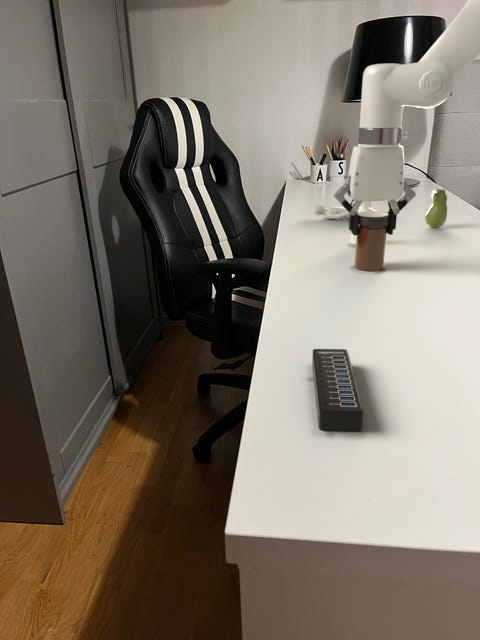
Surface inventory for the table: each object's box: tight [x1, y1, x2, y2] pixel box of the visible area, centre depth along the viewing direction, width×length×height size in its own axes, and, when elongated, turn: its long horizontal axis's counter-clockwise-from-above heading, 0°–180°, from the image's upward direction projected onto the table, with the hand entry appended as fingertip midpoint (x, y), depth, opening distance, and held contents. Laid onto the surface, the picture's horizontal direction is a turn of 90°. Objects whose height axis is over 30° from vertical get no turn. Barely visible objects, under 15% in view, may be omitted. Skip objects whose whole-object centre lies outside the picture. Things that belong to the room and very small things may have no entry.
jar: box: [353, 225, 388, 272], centre depth 101 cm, size 6×6×10 cm
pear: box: [424, 188, 448, 228], centre depth 133 cm, size 6×5×10 cm
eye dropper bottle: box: [350, 201, 376, 246], centre depth 118 cm, size 4×6×12 cm
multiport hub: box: [311, 348, 364, 433], centre depth 57 cm, size 4×14×2 cm, turn 175°
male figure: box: [313, 205, 360, 220], centre depth 145 cm, size 10×4×22 cm
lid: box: [357, 210, 389, 227], centre depth 99 cm, size 6×6×2 cm
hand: (371, 232), depth 100 cm, fingers closed on lid, 6 cm apart
